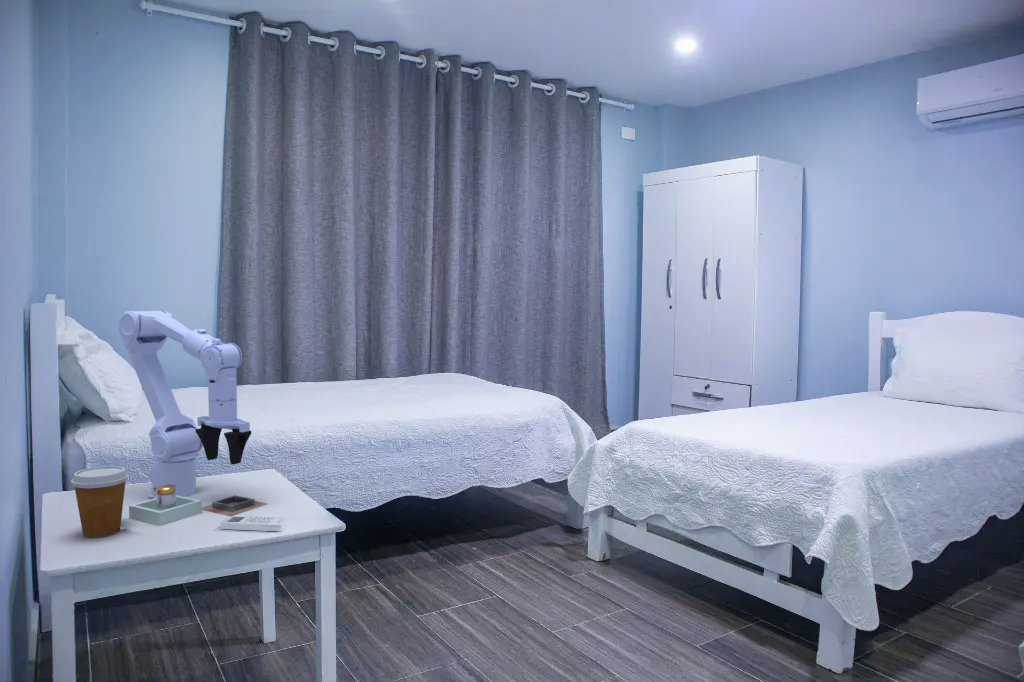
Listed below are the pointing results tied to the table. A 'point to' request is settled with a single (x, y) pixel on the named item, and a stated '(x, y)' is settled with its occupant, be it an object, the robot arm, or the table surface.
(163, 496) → the metal can
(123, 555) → the table surface
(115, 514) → the disposable coffee cup
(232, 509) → the socket plate
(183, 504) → the bin
